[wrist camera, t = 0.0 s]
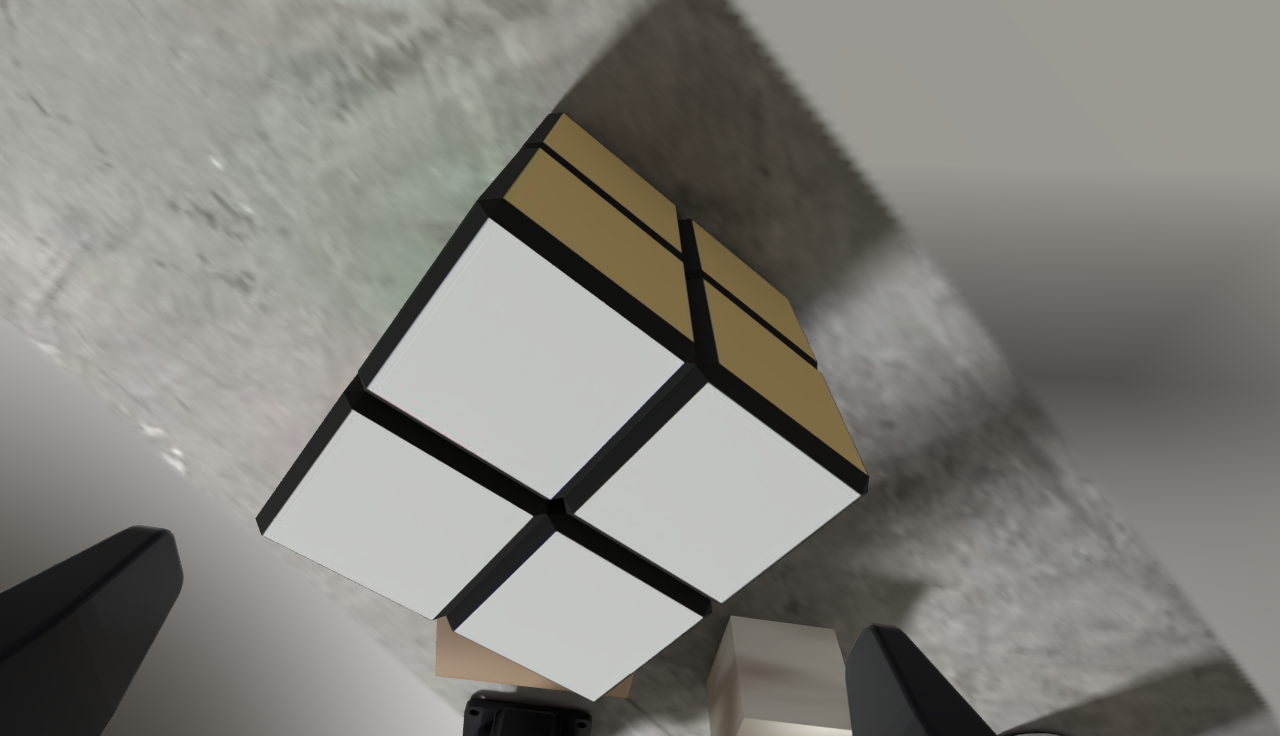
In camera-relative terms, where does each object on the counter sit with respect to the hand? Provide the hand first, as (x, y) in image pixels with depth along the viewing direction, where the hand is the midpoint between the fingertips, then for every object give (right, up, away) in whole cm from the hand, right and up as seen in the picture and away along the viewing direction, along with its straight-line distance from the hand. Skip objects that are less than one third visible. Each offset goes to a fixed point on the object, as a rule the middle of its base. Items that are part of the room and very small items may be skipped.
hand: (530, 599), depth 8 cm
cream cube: (+8, -11, +23) cm, 27 cm away
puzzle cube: (0, +5, +14) cm, 15 cm away
